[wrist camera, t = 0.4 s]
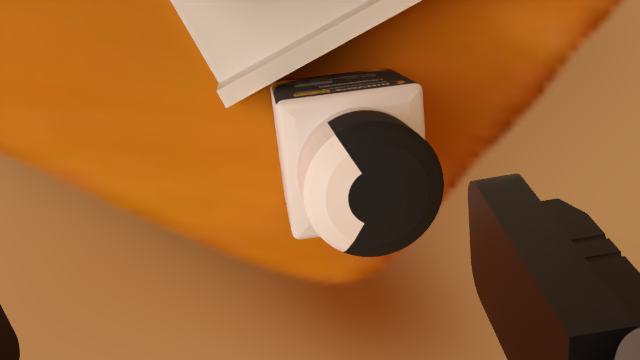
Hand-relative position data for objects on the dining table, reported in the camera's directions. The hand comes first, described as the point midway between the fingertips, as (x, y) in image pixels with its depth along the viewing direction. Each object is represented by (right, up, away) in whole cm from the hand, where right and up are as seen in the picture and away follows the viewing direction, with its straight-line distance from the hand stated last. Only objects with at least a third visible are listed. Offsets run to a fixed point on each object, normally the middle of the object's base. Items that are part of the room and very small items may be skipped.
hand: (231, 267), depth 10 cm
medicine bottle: (+2, +4, +26) cm, 27 cm away
